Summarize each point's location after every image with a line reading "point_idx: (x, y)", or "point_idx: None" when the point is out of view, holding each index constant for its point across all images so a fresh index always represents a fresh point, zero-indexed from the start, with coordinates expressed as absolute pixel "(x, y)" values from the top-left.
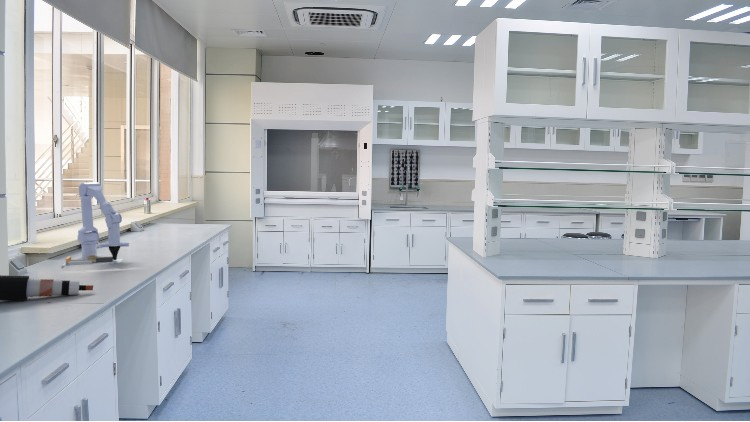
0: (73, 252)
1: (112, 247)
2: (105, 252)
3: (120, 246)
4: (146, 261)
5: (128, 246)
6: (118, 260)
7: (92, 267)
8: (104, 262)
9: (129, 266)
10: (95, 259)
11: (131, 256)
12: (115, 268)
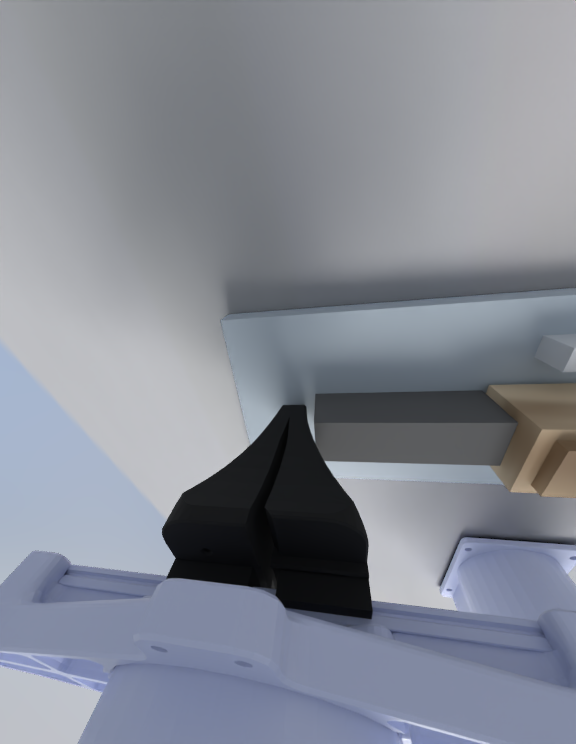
0: None
1: (298, 570)
2: None
3: (163, 579)
4: (90, 414)
5: (36, 551)
6: None
7: (532, 204)
8: (391, 368)
9: (93, 201)
10: (515, 403)
11: None
12: (197, 46)
